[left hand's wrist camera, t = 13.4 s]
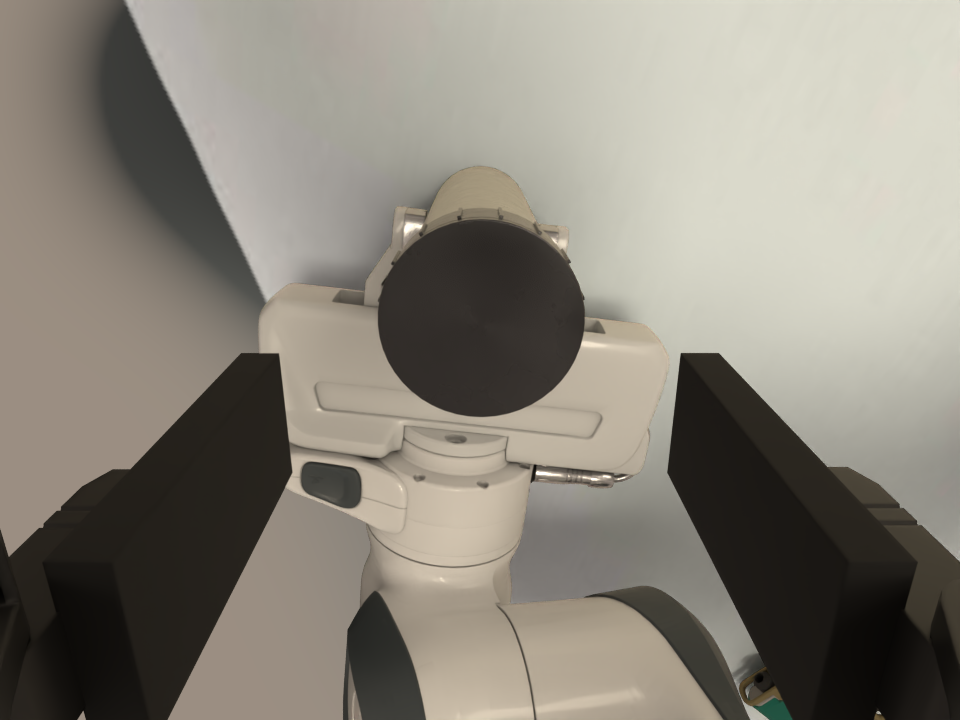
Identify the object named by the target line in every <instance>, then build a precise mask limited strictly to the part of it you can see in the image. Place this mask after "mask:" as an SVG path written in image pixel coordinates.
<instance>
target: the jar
mask: <svg viewBox="0 0 960 720" xmlns="http://www.w3.org/2000/svg"><path fill="white" fill-rule="evenodd" d="M461 207H462V210H464V209H470V208H493V209H498V207H501V208H502V210H504V211H508V212H511V213H514V214H517V215H519V216H521V217H523V218H525V219H527V220H529V221H531V222H532V223H534V222H536V220H535V217H534V215H533V213H532V211H531V209H530V207H529V205H528V203H527V201H526V199H525V197H524V195H523V193H522V191H521V189H520V188H519V186H518V185H517V184H516V182H515V181H514V180H513V179H512V178H510V177H509V176H508V175H506V174H505V173H503V172H501V171H499V170H497V169H494V168H490V167H483V166H477V167H470V168H466V169H463V170H461V171H459V172H457V173H455V174H454V175H452V176H451V177H450V178H449V179H448V180H446V181H445V183H444V184H443V185H442V186H441V188H440V190H439V191H438V193H437V195H436V198H435V200H434V202H433V204H432V206H431V208H430V211H429V213H428V215H427V217H426V219H425V222H424V223H426V224H428V223H430V222H431V221H433V220H435V219H437V218H439V217H441V216H443V215H446V214H449V213H452V212H454V211H458V209H459V208H461Z"/></svg>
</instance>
